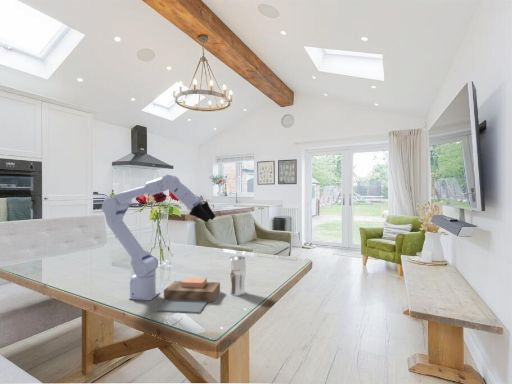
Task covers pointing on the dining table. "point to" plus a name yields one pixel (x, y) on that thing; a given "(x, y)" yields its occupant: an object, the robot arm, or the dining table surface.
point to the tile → (194, 282)
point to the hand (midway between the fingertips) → (211, 219)
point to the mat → (183, 306)
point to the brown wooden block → (192, 292)
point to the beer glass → (237, 275)
